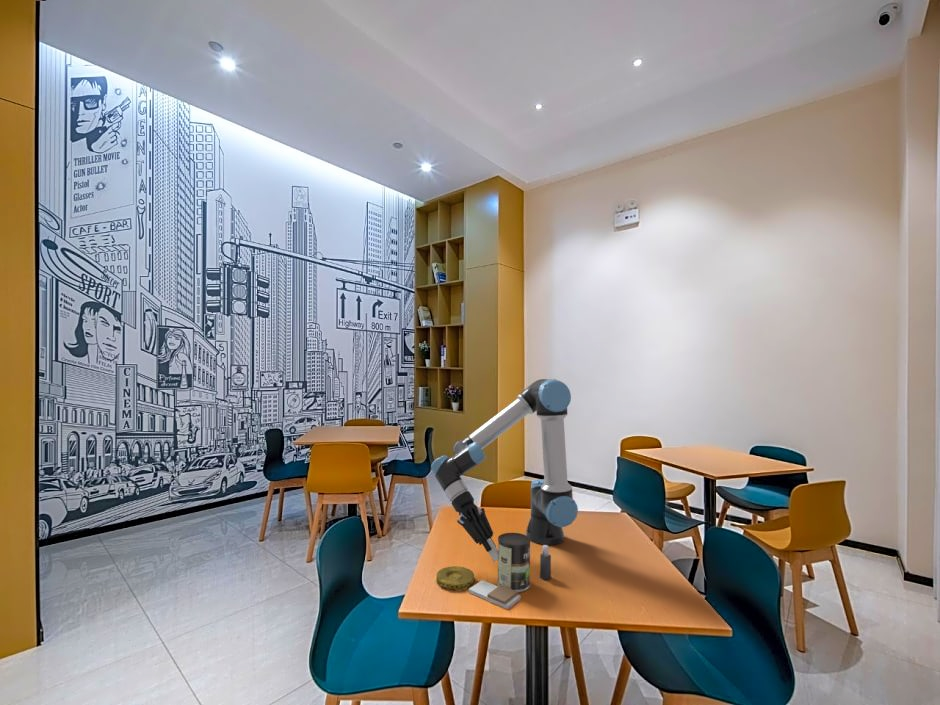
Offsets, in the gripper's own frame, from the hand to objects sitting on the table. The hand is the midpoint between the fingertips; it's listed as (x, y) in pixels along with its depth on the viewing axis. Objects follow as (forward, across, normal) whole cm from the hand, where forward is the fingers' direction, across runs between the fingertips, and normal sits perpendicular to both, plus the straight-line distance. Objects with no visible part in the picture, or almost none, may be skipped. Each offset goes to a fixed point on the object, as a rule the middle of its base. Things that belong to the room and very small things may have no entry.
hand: (497, 559), depth 134 cm
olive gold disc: (-2, +10, -11) cm, 15 cm away
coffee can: (+9, 0, 0) cm, 9 cm away
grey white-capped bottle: (+13, -11, +4) cm, 17 cm away
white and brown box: (+8, +10, 0) cm, 12 cm away
